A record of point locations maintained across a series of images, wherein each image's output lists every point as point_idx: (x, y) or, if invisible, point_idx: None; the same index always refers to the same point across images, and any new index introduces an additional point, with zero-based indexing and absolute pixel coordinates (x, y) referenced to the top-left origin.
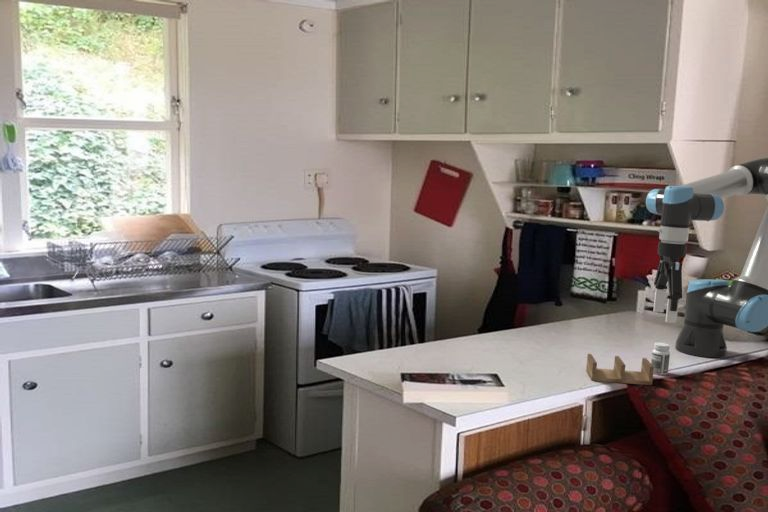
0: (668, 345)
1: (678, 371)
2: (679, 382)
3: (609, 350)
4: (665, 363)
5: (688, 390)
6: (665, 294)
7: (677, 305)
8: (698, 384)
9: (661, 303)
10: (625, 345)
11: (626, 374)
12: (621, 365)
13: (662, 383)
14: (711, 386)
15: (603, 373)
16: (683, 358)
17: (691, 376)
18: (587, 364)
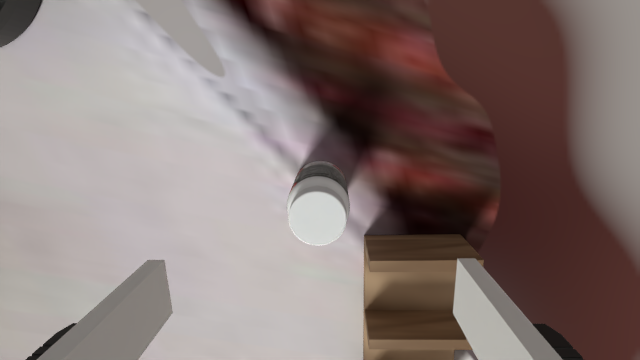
0: (329, 196)
1: (283, 117)
2: (411, 145)
3: (112, 280)
4: (345, 185)
5: (492, 138)
6: (75, 347)
7: (542, 345)
8: (420, 87)
9: (133, 312)
10: (20, 221)
11: (405, 294)
12: (471, 347)
13: (434, 200)
14: (434, 47)
15: (410, 349)
16: (100, 55)
17: (331, 87)
18: None
